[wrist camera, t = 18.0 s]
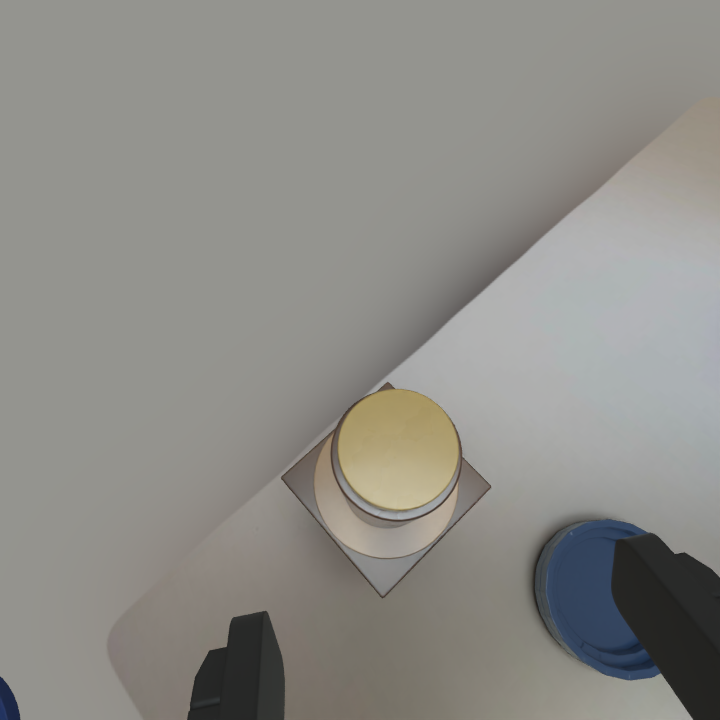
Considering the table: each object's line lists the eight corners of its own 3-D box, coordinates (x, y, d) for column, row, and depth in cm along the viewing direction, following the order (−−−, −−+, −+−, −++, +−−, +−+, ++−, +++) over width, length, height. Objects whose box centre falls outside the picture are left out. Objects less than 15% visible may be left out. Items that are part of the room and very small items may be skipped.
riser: (375, 574, 42) (382, 599, 24) (315, 503, 44) (279, 477, 26) (441, 508, 44) (492, 486, 26) (379, 443, 46) (388, 380, 28)
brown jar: (364, 544, 25) (363, 546, 15) (328, 460, 26) (306, 413, 16) (446, 504, 25) (494, 482, 16) (406, 424, 27) (428, 359, 17)
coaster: (349, 585, 24) (349, 586, 24) (293, 447, 27) (291, 445, 26) (483, 519, 25) (485, 518, 25) (416, 391, 28) (417, 388, 27)
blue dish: (579, 694, 39) (599, 708, 35) (507, 556, 42) (519, 557, 39) (695, 628, 40) (724, 636, 37) (616, 500, 44) (636, 496, 41)
